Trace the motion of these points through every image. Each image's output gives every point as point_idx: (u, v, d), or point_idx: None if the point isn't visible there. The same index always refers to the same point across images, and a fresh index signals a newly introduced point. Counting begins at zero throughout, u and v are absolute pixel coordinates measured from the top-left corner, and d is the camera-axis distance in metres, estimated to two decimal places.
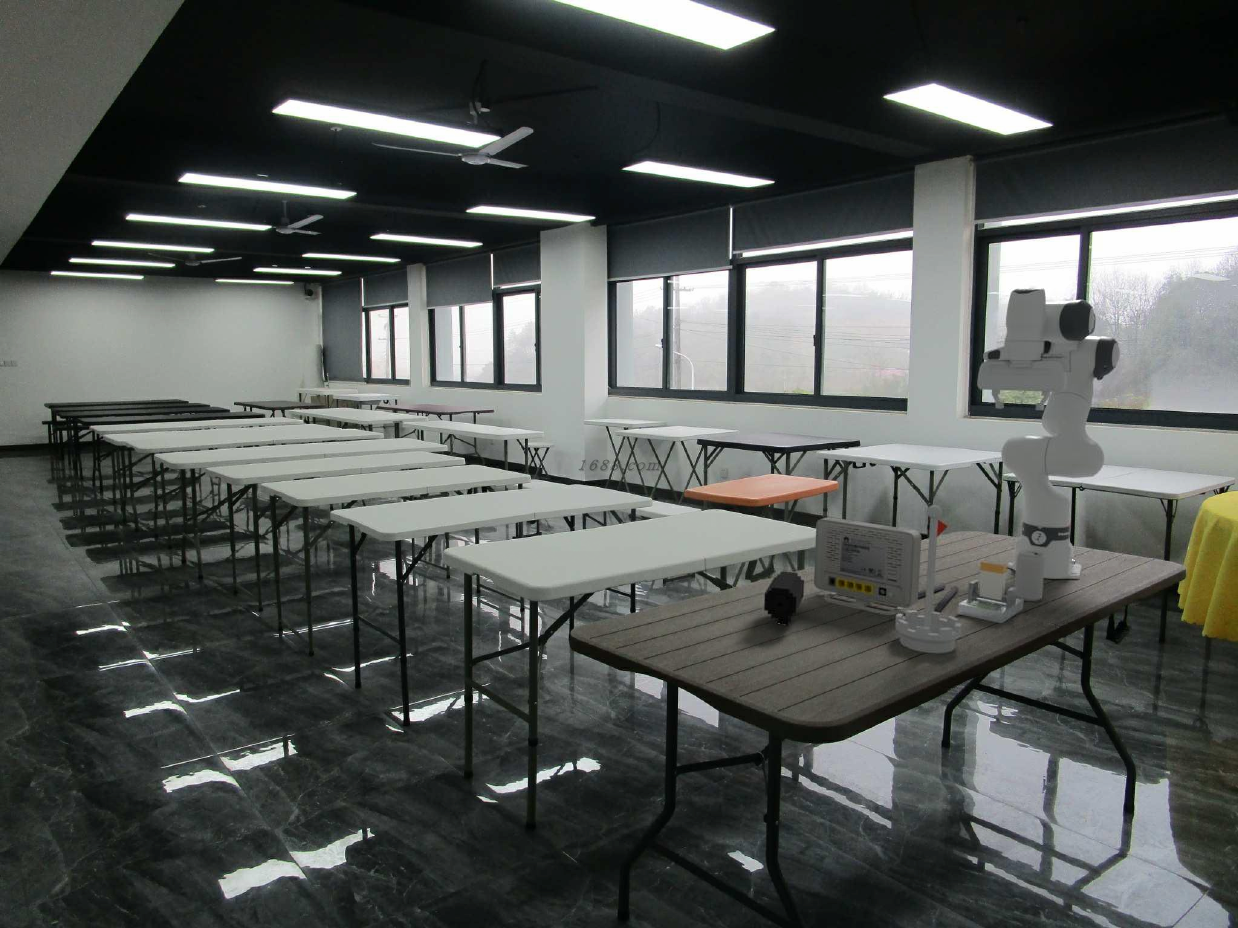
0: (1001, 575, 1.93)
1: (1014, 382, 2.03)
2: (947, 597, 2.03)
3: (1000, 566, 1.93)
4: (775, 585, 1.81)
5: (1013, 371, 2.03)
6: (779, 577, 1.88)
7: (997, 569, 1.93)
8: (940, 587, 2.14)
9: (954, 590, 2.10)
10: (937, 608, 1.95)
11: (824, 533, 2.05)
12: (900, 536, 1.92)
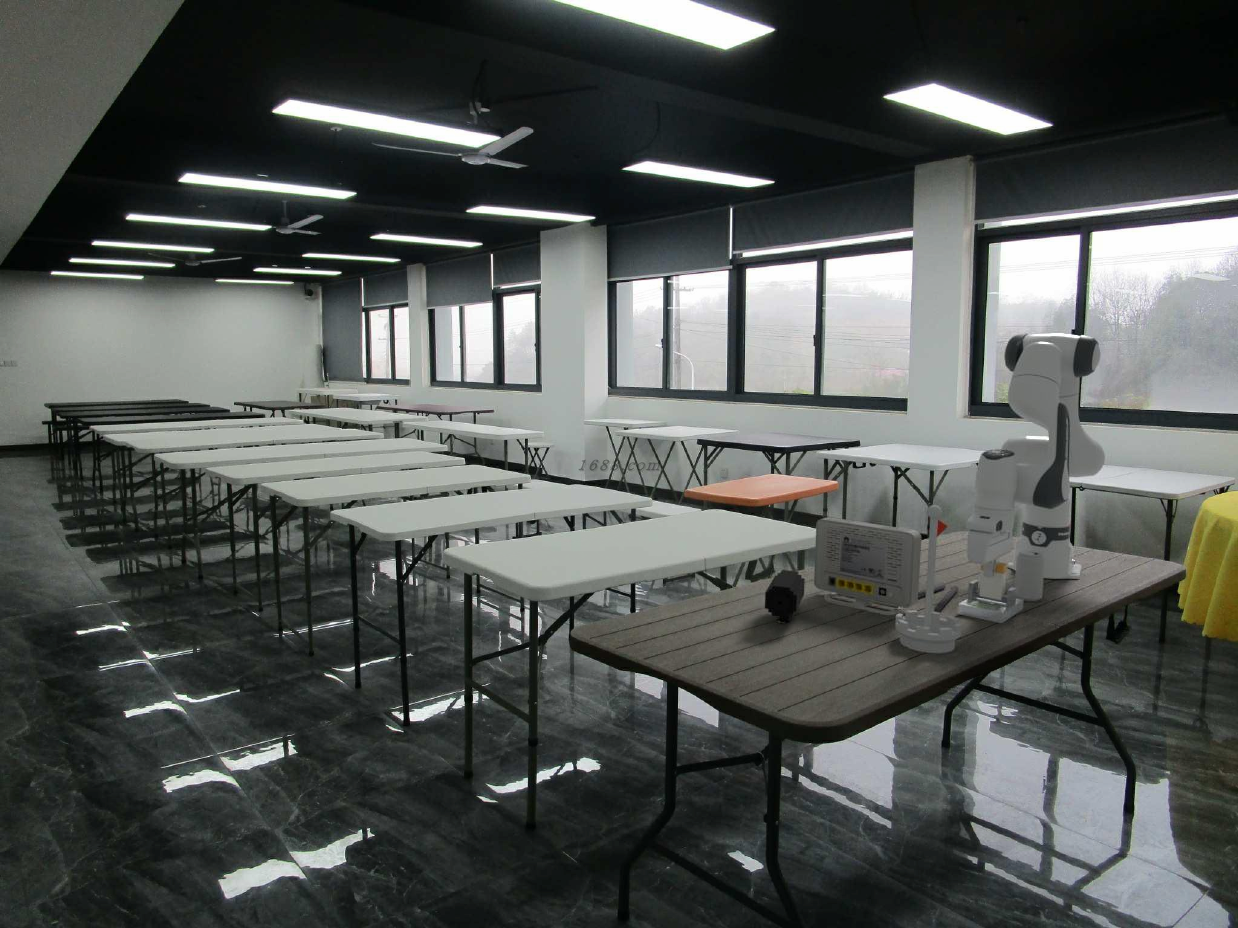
0: (1001, 575, 1.93)
1: (997, 551, 1.90)
2: (947, 597, 2.03)
3: (1000, 566, 1.93)
4: (776, 583, 1.82)
5: (996, 540, 1.90)
6: (780, 576, 1.89)
7: (997, 569, 1.93)
8: (940, 587, 2.14)
9: (954, 590, 2.10)
10: (937, 608, 1.95)
11: (824, 533, 2.05)
12: (900, 536, 1.92)
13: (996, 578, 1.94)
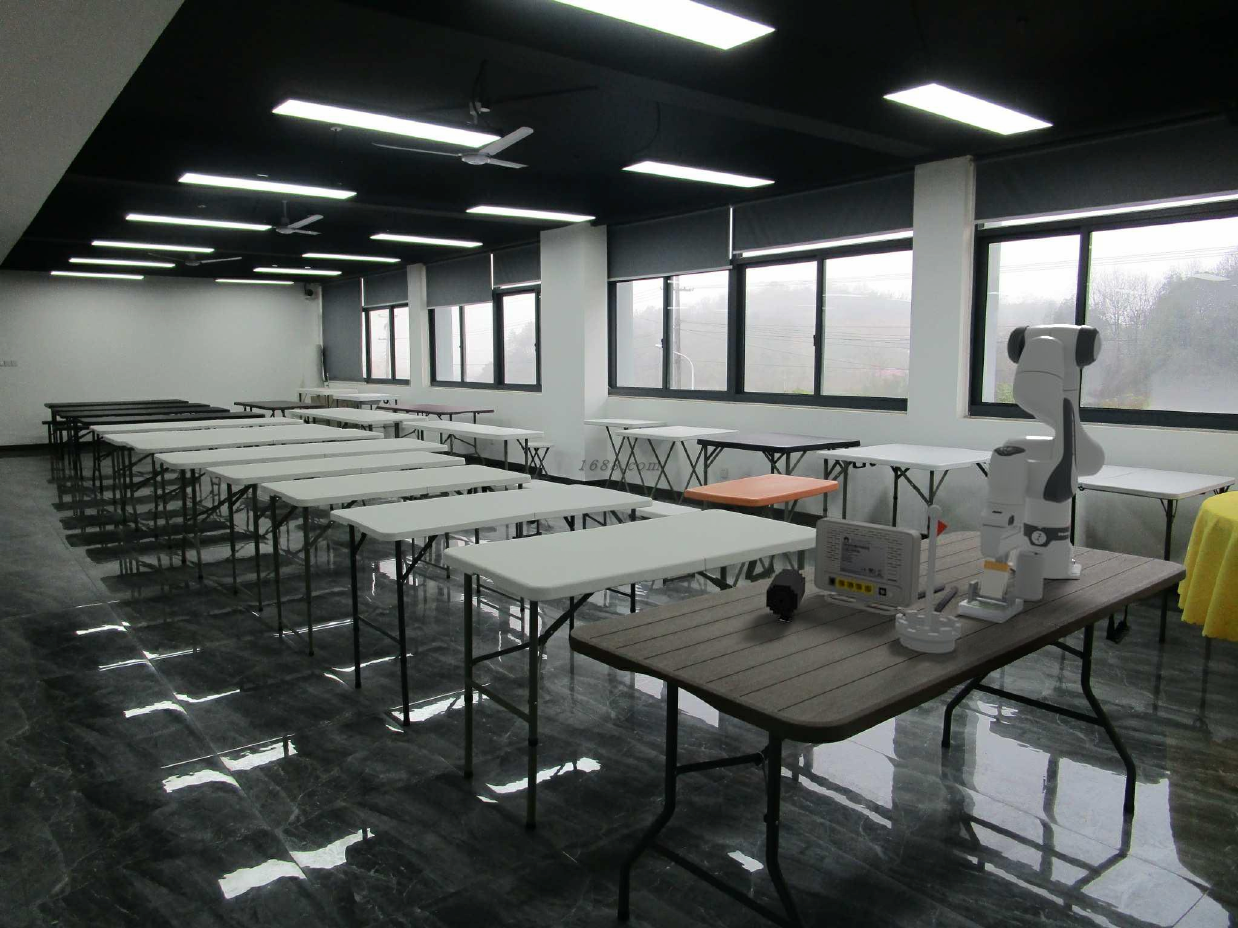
0: (1004, 573, 1.94)
1: (1009, 544, 1.96)
2: (947, 597, 2.03)
3: (1004, 564, 1.95)
4: (777, 582, 1.84)
5: (1008, 534, 1.96)
6: (781, 574, 1.90)
7: (1000, 567, 1.95)
8: (940, 587, 2.14)
9: (954, 590, 2.10)
10: (937, 608, 1.95)
11: (824, 533, 2.05)
12: (900, 536, 1.92)
13: (998, 576, 1.95)
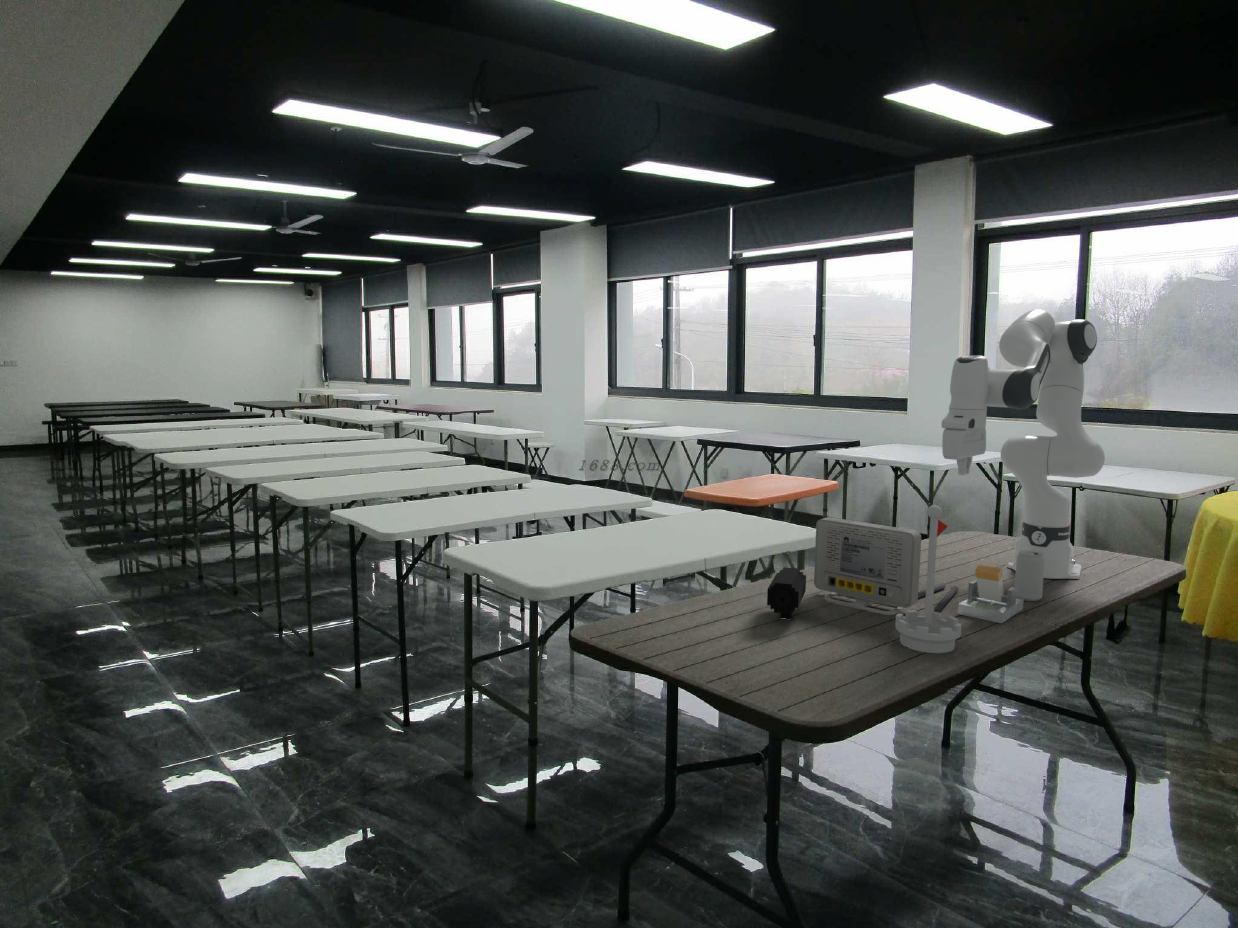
0: (997, 582, 1.91)
1: (971, 449, 2.05)
2: (947, 597, 2.03)
3: (994, 575, 1.90)
4: (778, 580, 1.85)
5: (969, 438, 2.04)
6: (781, 573, 1.92)
7: (992, 577, 1.91)
8: (940, 587, 2.14)
9: (954, 590, 2.10)
10: (937, 608, 1.95)
11: (824, 533, 2.05)
12: (900, 536, 1.92)
13: (992, 584, 1.92)
